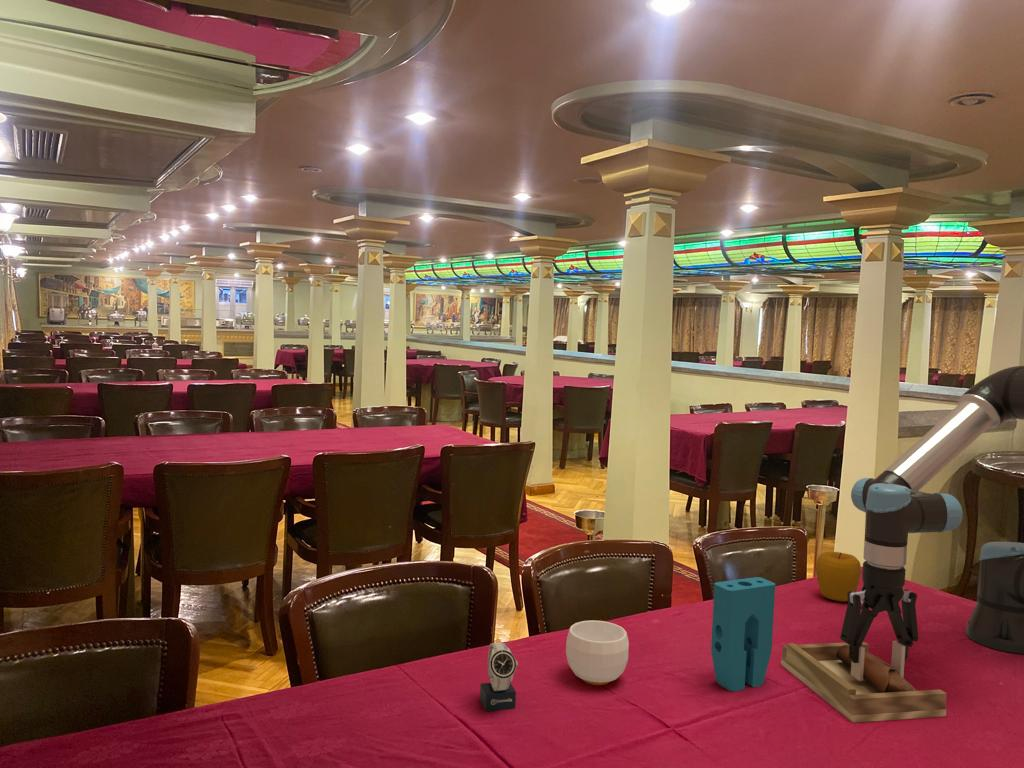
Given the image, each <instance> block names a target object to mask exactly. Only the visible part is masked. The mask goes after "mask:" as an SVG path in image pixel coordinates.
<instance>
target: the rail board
mask: <svg viewBox="0 0 1024 768" xmlns="http://www.w3.org/2000/svg"><path fill="white" fill-rule="evenodd" d="M843 645H849V644H847V643H846V642H830V643H829V642H827V643H825V642H824V643H806V644H795V643H786V644H785V645H784V644H783V645H782V650H781V651H782V652H781V653H782V654H781V659H780V660H781V661H780V665H781V666H782V667H783V668H785V669H786V670H787V671H788V672H790V673H791V674H792V675H793V676H794V677H796V678H797V679H798V680H800V681H801V682H802V683H803V684H805V686H807V687H808V688H810V690H811V691H813V692H814V693H816V695H818V696H819V697H820V698H821V699H822V700H824V701H826V702H827V703H828V704H829V705H830V706H831V707H833V708H834V709H835V710H836V711H837V712H839V713H840V714H842V715H843V716H844V717H845V718H846V719H847V720H849V721H850V722H851V723H867V722H883V721H894V720H908V719H909V720H910V719H924V718H925V719H926V718H939V717H941V718H942V717H946V716H947V709H946V707H947V695H948V694H947V693H946V692H945V691H943V690H942V689H928V690H927V689H926V690H924V689H923V690H917V691H906V692H890V693H880V692H879V691H878V690H877V689H875V688H874V687H873V686H872V685H871V684H870V683H868V682H867V681H866V680H865V679H864V678H863V681H859V680H857V679H856V678H854V677H853V676H852V675H851V667H849V666H848V665H846V664H845V663H843V662H842V661H841V660H839V659H838V658H837V656H836V654H837V651H838V649H839V648H840V647H841V646H843ZM861 646H862V647H864V648H865V651H866V652H868V653H869V649H870V647H869V646H870V645H869V643H867V642H865V641H863V643H862V645H861Z"/></svg>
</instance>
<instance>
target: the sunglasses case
mask: <svg viewBox="0 0 1024 768" xmlns="http://www.w3.org/2000/svg"><path fill="white" fill-rule="evenodd" d="M836 656H837V658H838V659H839V660H841V661H842V662H843V663H845V664H846V665H848V666H849V667H851V663H852V661H850V660H849V645H843V646H841V647H840V648H839V649H838V651H837V654H836ZM863 678H864V679H865V680H866V681H867V682H868V683H870V684H871V685H872V686H873V687H874V688H875V689H877V690H878V691H879V692H880V693H890V692H906V691H918V690H917V689H916V688H915V687H914V686H913V685H912V684H911V683H910V682H908V681H907V680H906V678H904V677H901V676H900V675H899V674H898V673H897V672H895V669H894V668H893V667H892V666H891V664H890V663H888V662H886V661H885V660H882V659H881V658H879V657H878V656H876V655H874V654H872V653H870V652H869V651H868V652H866V651H865V655H864V671H863Z"/></svg>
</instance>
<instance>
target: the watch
mask: <svg viewBox="0 0 1024 768" xmlns="http://www.w3.org/2000/svg"><path fill="white" fill-rule="evenodd" d="M487 654H488V656H487V675H488V680H490V682H482V683H479V684H480V686H479V694H480V695H479V701H480V703H481V706H482V707H483V709H484V711H485V712H494V711H502V710H510V709H511V710H513V709H516V702H517V701H516V699H517V698H516V696H517V695H516V694H517V691H516V689H515V688H514V686H513V684H512V683H511V682H512V681H513V678H514V674H515V672H516V671H517V667H518V666H519V663H518V660H517V659H516V658H515V656H514V654H513V653H512V651H511V650H510V648H509V647H508V646H507V644H505V642H493V643H489V645H488V653H487Z"/></svg>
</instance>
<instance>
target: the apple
mask: <svg viewBox="0 0 1024 768" xmlns="http://www.w3.org/2000/svg"><path fill="white" fill-rule="evenodd" d="M815 564H816V565H815V575H816V580H817V582H818V583H817V584H818V587H819V590H820V593H821V594H822V596H823V597H825V598H826V599H828V600H832V601H837V602H848V597H847V593H848V592H849V591H852V592H853V593H855V592H857V590H858V587H859V583H860V579H861V576H862V565H861V562H860V560H859V559H858V558H857V557H856V556H854V555H852V554H851V553H850V554H849V553H844V552H840V551H824V552H823V553H820V554H819V556H818V558H817V559H816V563H815Z"/></svg>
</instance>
